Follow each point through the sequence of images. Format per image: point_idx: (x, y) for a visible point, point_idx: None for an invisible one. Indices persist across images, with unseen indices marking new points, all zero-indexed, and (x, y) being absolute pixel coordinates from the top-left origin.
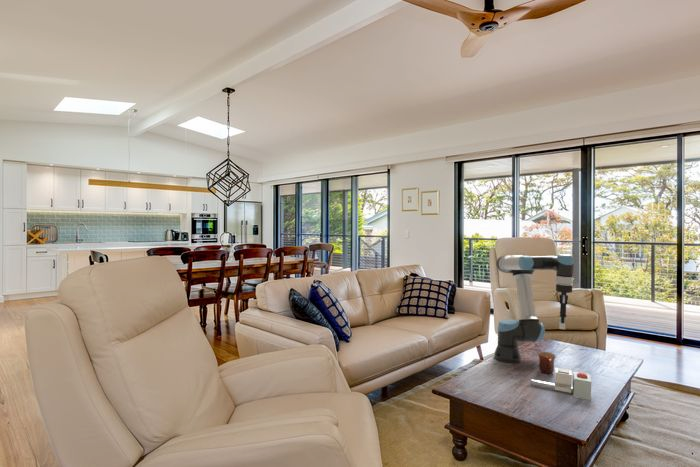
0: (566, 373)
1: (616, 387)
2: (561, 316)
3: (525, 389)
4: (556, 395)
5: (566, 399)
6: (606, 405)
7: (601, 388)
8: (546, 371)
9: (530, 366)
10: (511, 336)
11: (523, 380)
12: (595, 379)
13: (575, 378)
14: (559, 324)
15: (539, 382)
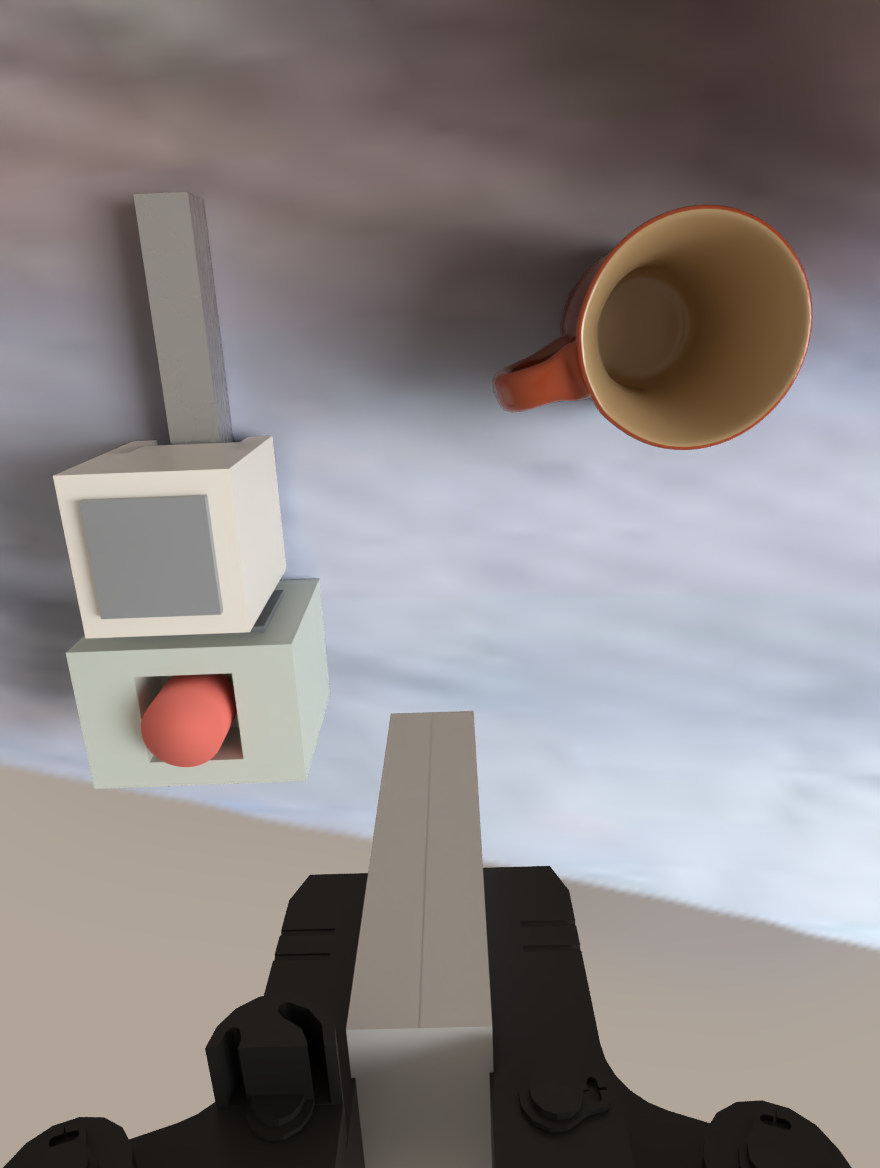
0: (98, 589)
1: (556, 865)
2: (118, 1146)
3: (12, 158)
4: (74, 454)
5: (45, 534)
6: (138, 790)
7: None
8: (562, 335)
9: (759, 134)
10: None
11: (251, 105)
12: (663, 741)
13: (81, 663)
14: (381, 786)
15: (148, 290)
